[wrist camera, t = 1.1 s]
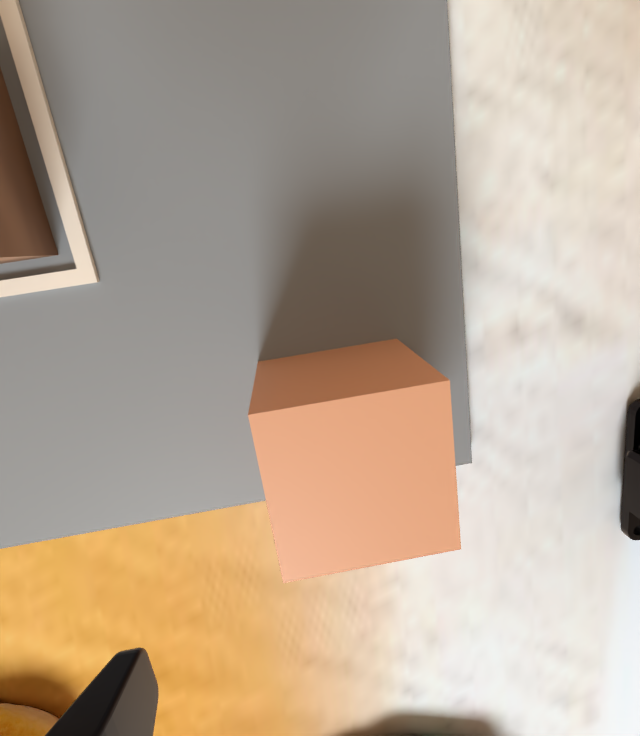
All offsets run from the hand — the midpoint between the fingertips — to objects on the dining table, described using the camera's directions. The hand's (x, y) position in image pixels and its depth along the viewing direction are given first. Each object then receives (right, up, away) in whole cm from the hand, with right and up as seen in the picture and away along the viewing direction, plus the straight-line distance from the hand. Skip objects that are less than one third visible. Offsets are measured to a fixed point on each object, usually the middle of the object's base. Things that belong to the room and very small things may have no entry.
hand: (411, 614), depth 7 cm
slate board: (-8, +7, +7) cm, 13 cm away
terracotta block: (-1, +2, +9) cm, 9 cm away
